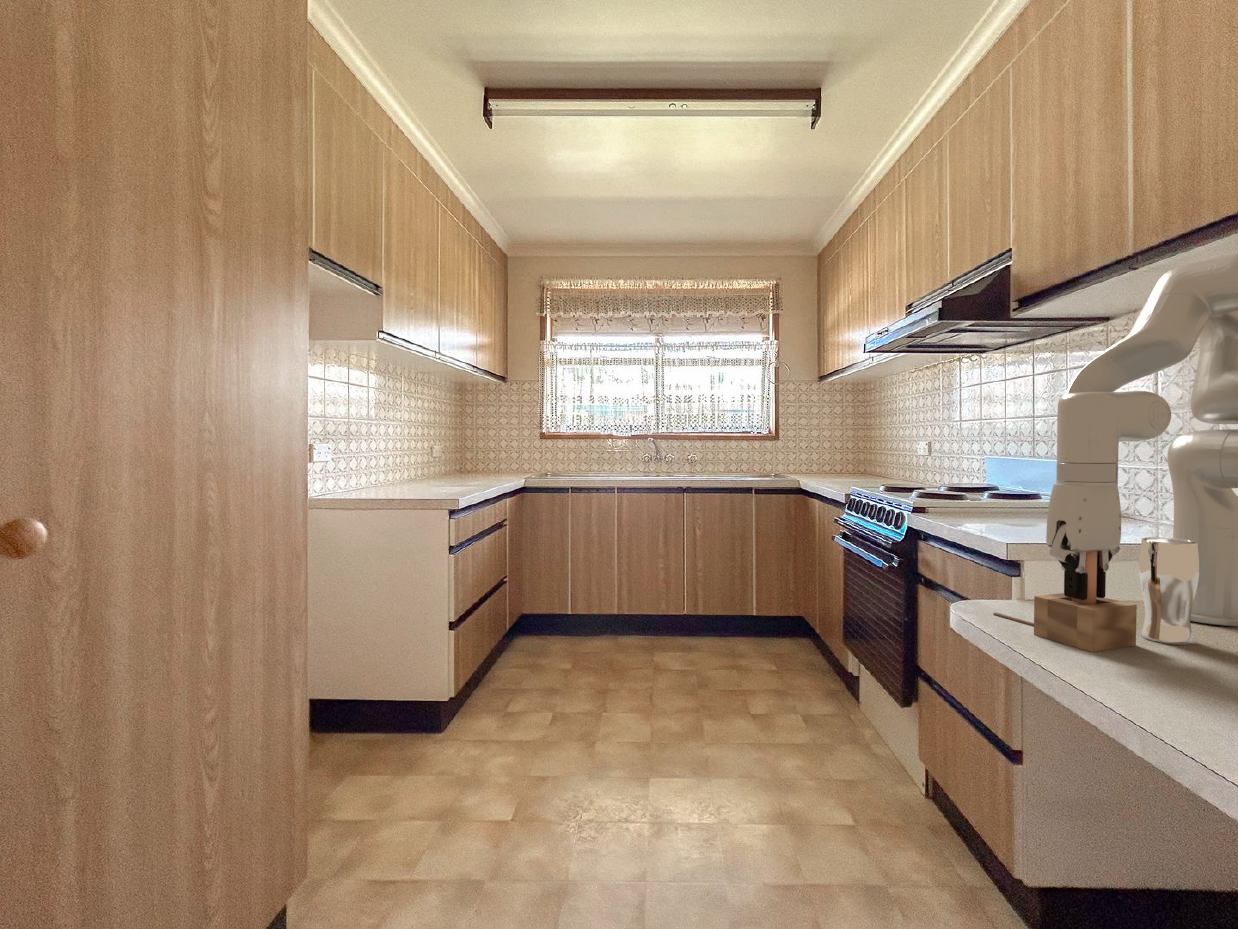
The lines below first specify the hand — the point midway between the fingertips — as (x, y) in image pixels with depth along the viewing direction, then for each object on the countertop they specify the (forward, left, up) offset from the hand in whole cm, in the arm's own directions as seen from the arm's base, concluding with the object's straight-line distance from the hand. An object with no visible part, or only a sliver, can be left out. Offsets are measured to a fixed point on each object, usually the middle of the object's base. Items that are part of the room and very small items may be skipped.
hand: (1084, 595), depth 99 cm
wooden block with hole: (0, 0, -7) cm, 7 cm away
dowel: (0, 0, -4) cm, 4 cm away
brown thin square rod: (0, -10, -7) cm, 12 cm away
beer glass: (-12, +4, -7) cm, 14 cm away
